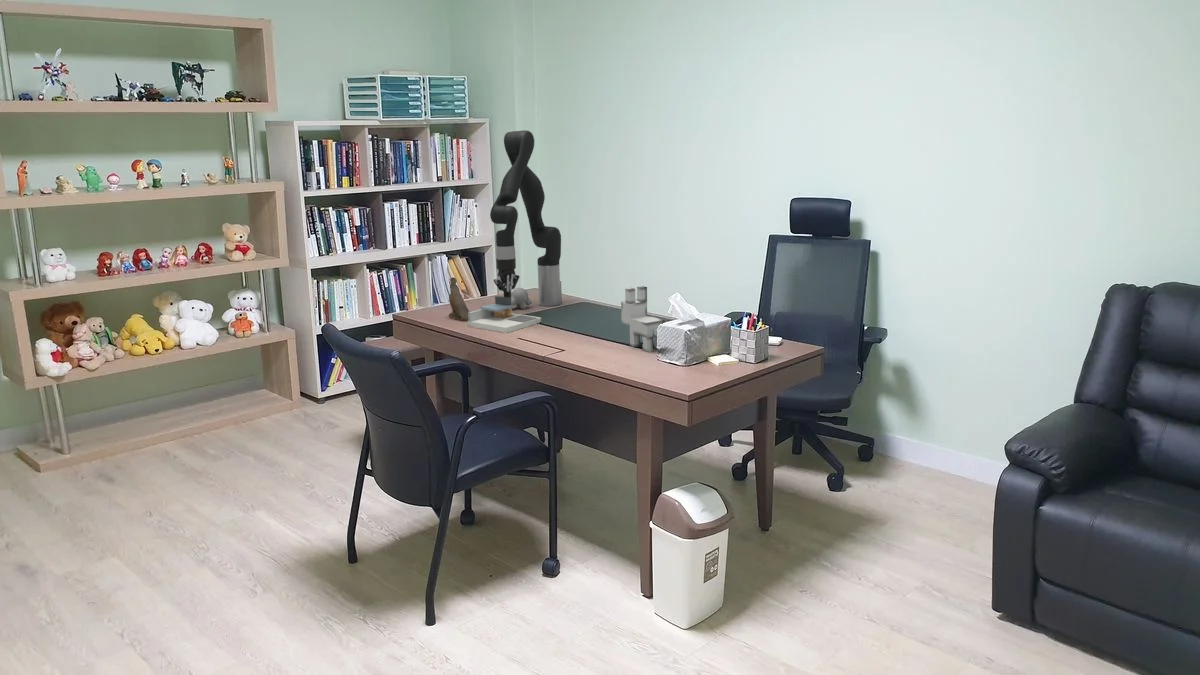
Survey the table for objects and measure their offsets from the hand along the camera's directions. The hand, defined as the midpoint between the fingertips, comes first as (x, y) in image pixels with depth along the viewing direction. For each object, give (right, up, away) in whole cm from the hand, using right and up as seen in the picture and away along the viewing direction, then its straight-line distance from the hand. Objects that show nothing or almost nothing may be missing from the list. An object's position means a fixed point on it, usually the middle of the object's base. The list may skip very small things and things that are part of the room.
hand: (507, 300), depth 346 cm
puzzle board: (0, -9, -6) cm, 11 cm away
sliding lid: (-4, -3, -4) cm, 7 cm away
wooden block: (-2, -8, 0) cm, 8 cm away
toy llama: (+52, -18, -42) cm, 69 cm away
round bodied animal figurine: (+2, -3, +21) cm, 21 cm away
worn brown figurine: (-19, -7, +5) cm, 21 cm away
